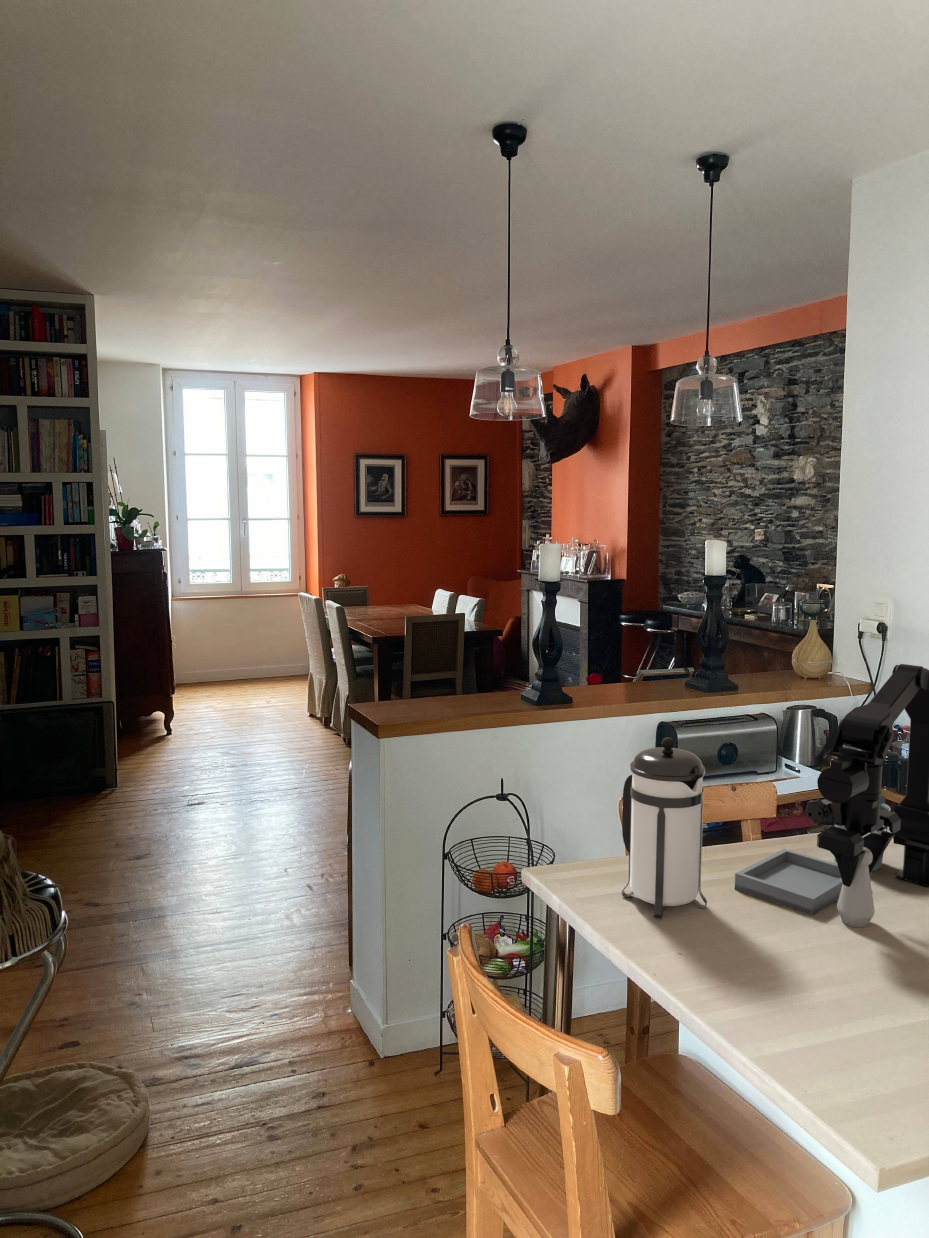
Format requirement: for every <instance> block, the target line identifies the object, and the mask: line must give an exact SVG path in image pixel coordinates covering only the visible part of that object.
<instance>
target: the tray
mask: <svg viewBox="0 0 929 1238" xmlns="http://www.w3.org/2000/svg"><path fill="white" fill-rule="evenodd" d="M842 885H843V882H842V879H841V875H840V872H839V868H838V865H837V863H836V862H835V863H834V862H832V861H827V860H825V859H821V858H818V857H815V856H811V855H807V854H805V853H804V854H803V853H800V852H797V851H794V850H791V849H787V848H783V849H780V850H778V851H776V852H775V853H773V854H771V855H769V856H767V857H765V858H763V859H761V860H759V861H757V862H755V863H753V864H751V865H749V866H747V867H745V868H743V869H741V870H739V871H738V872H735V873H734V889H735V890H736V891H739V892H741V893H742V892H743V893H746V894H748V895H752V896H754V897H756V898H759V899H762V900H765V901H769V902H770V903H774V904H777V905H780V906H783V907H786V908H789V909H792V910H793V911H794V910H795V911H798V912H801V913H803V914H805V915H809V916H814V915H816V914H818V913H819V912H821V911H823V910H824V909H826V908H827V907H830V906H831V905H832V904H834V903H835V902H838V900H839V896H840V892H841V889H842Z"/></svg>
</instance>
